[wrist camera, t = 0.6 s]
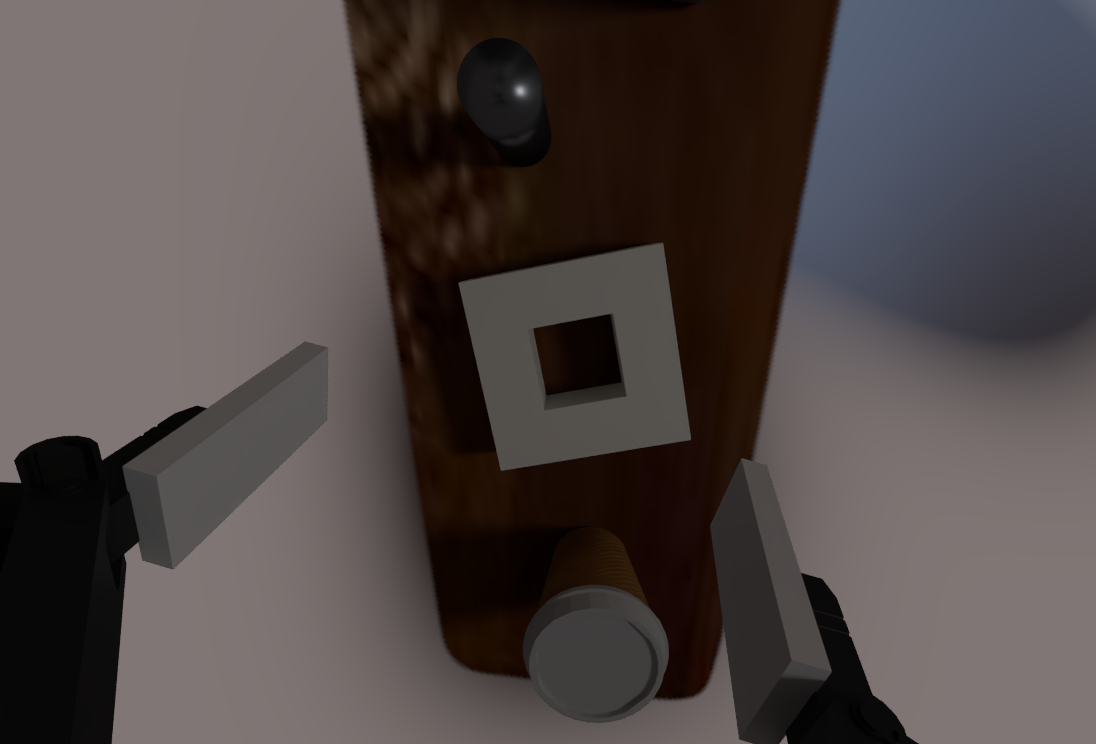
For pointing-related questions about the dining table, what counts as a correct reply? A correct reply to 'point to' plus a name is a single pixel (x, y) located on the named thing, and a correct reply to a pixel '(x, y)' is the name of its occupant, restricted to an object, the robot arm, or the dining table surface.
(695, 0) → the candle
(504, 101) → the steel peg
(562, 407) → the hole block
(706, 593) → the dining table surface
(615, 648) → the disposable coffee cup
